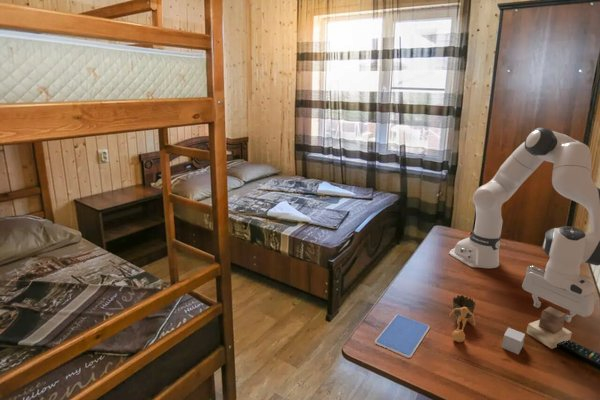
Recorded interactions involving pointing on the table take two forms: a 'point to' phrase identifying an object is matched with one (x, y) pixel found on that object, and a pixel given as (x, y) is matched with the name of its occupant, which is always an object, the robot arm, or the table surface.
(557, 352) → the table surface
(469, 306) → the cup
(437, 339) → the table surface
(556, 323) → the walnut block
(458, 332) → the figurine
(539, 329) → the beech pedestal block
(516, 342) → the grey painted cube
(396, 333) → the tablet computer
